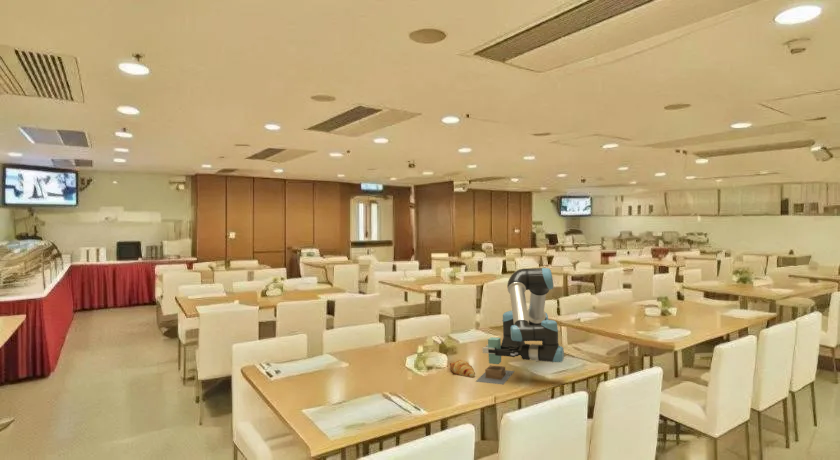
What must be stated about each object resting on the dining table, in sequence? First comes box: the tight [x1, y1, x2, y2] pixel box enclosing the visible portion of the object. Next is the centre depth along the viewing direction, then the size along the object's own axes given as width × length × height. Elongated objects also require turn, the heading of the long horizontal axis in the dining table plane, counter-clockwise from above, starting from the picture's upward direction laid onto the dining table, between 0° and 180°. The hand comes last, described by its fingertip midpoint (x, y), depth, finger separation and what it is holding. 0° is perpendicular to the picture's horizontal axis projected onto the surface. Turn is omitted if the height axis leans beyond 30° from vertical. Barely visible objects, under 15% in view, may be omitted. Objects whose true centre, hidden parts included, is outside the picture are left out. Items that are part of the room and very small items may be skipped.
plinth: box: [484, 365, 506, 379], centre depth 233 cm, size 8×8×4 cm
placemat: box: [475, 369, 515, 385], centre depth 233 cm, size 22×14×1 cm, turn 154°
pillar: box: [487, 336, 502, 365], centre depth 233 cm, size 5×5×12 cm
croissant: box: [449, 359, 476, 378], centre depth 241 cm, size 21×10×8 cm, turn 31°
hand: (484, 348), depth 235 cm, fingers closed on pillar, 5 cm apart
